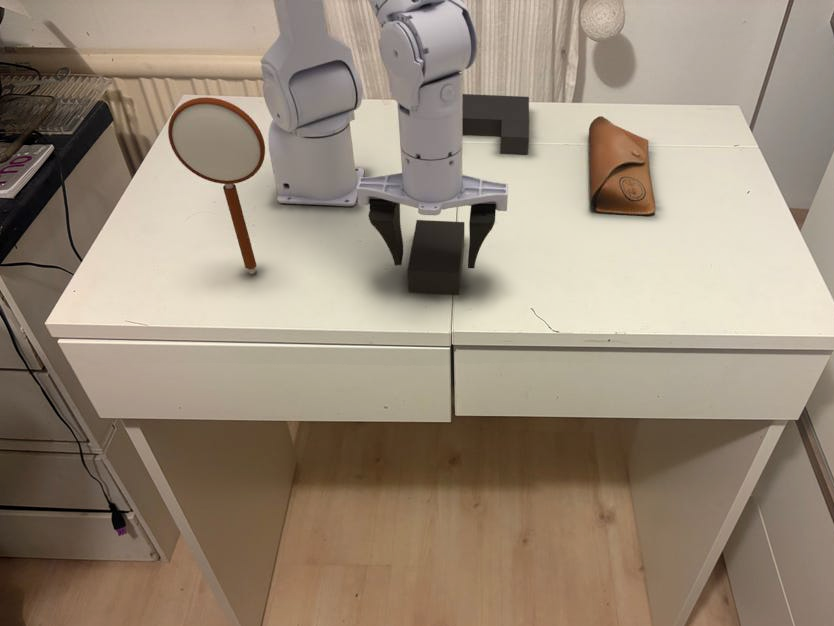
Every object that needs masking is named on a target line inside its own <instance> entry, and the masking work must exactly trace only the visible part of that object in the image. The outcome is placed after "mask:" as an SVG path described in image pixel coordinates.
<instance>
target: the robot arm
mask: <svg viewBox="0 0 834 626" xmlns="http://www.w3.org/2000/svg"><path fill="white" fill-rule="evenodd" d="M367 1H368V3H369V6H370V7H371V9H372V11H373V14H374V16H375V18H376V20H377V22H378V24H379V26H380V28H381V31H380V39H377V40H378V41H377V42H378V48H379V49H378V50H379V53H380V57H381V59H382V63H383V65H384V68H385V70H386V73H387V77H388V82H389V91H390V92H391V98H392V99H393V101H395V102H396V105H397V118H398V132H399V133H398V134H399V145H400V146H399V147H400V163H401V164H400V165H401V172H399V173H393V174H385V175H379V176H366V177H365V169H364V168H363V167H356V164H355V155H354V154H355V153H354V147H353V139H352V131H351V122H352V121H355V120H356V117H355V111H357V110H358V109H359V108H360V107H361V104H362V100H363V95H364V94H363V92H364V91H363V90H364V89H363V83H362V80H361V77H360V73H359V72H358V69H357V67H356V64H355V60H354V58H353V51H352V49H351V47H350V46H349V45H348V44H347V43H346V42H345V41H344V40H342V39H340V38H339V37H337V36H335V35H333V34H331V32H329V29H328V24H327V19H326V18H327V17H326V12H325V7H324V6H325V5H324V2H323V0H272V2H273V7H274V11H275V16H276V20H277V25H278V29H279V33H280V34H279V35H278V37H277V38H276V40H275V41H274V42H273V44H272V45H271V46H270V47H269V48H268V49H267V51H266V52H265V53H263V56H262V57H261V58H260V64H261V65H260V68H261V73H262V74H261V75H262V81H263V82H262V94H263V99H264V102H265V106H266V107H267V110H268V112H269V114H270V116H271V118H272V120H271V121H270V125H269V129H268V138H267V139H268V152H269V158H270V162H271V167H272V172H273V176H274V181H275V186H276V190H277V194H278V195H277V197H276V200H277V202H278V203H279V204H293V205H295V204H296V205H318V206H341V207H353V206H355V205H356V202H357V205H359V206H369V211H368V220H369V222H370V224H371V225H372V227H373V228H374V229H375V230H376V231H377V232H378V234H379V235H380V236H381V238H382V239H383V241H384V242H385V244H386V247H387V248H388V251H389V252H390V254H391V257H392V260H393V263H394V265H395V266H402V264H403V258H404V240H403V234H402V233H403V231H402V226H401V225H402V224H401V205H403V206H407V207H411V208H415V209H417V211H418V214H419V215H422V216H439V215H441V212H442V210H448V209H453V208H459V207H460V208H461V207H465V206H469V207H470V211H469V222H468V223H469V224H468V228H469V246H468V247H469V248H468V256H467V269H473V270H474V269H475V268H476V261H477V257H478V254H479V251H480V249H481V246H482V245H483V244H484V241H485V240H486V238H487V237H488V235H489V233H490V232H491V231H493V227H494V225H495V223H496V214H497V213H496V211H498V212H507V211H508V197H509V183H508V182H498V181H497V182H496V181H492V180H487V179H482V178H479V177H474V176H471V175H466V174H463V135H462V104H463V94H464V93H463V91H464V89H463V87H464V86H463V83H464V81H463V73H462V72H464V71H465V70H468V69H470V68H471V67H472V66H473V65H474V63H475V61H476V59H477V54H478V43H479V42H478V34H477V30H476V25H475V24H474V23H475V22H474V20H473V18H472V15H471V13H470V10H469V8H468V6H467V5H466V4H465V3H464V2H463V1H462V0H367Z"/></svg>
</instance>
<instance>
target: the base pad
mask: <svg viewBox="0 0 834 626" xmlns="http://www.w3.org/2000/svg"><path fill="white" fill-rule="evenodd" d="M463 135H465V136H487V137H500V149H499V153H500V154H504V155H505V154H506V155H507V154H508V155H510V154H511V155H528V154H529V143H530V142H529V141H530V97H529V96H521V95H520V96H519V95H496V94H495V95H493V94H474V93H473V94H472V93H470V94H469V93H463V104H462V136H463Z"/></svg>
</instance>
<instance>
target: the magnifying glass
mask: <svg viewBox="0 0 834 626" xmlns="http://www.w3.org/2000/svg"><path fill="white" fill-rule="evenodd" d="M167 132H168V133H167V135H168V141H169V144H170V147H171V149H172V151H173V153H174V155H175V156H176V158H177V159H178V160H179V162H180V163H181V164H182V166H183V167H185V168H186V169H188V170H189V171H190V172H191V173H193V174H194V175H196V176H197V177H199V178H202V179H203V180H206V181H208V182H210V183H211V182H212V183H215V184H221V185H223V187H222V189H223V193H224V196H225V200H226V203H227V207H228V210H229V214H230V218H231V221H232V224H233V225H232V226H233V229H234V231H235V236H236V239H237V242H238V247H239V249H240V254H241V257H242V261H243V264H244V268H245V269H246V270H248V273H249V274H251V275H252V274H253V275H254V274H255V273H256V272H257V270H256V268H257V262H256V258H255V254H254V250H253V246H252V243H251V239H250V234H249V231H248V227H247V223H246V219H245V215H244V212H243V208H242V205H241V202H240V197H239V193H238V190H237V186H236V184H240V183H242V182H245V181H247V180H249V179H251V178H252V177H254V176H255V175H256V174H257V173H258V172H259V170H260V169H261V167H262V166H263V164H264V161H265V157H266V145H265V144H266V143H265V139H264V136H263V134H262V131H261V130H260V128H259V126H258V125H257V123H256V122H255V121H254V119H253V118H252V117H251V116H250V115H249V114H248V113H247V112H246V111H244V110H243V109H242V108H240V107H239V106H237V105H235V104H233V103H231V102H229V101H227V100H223V99H221V98H215V97H197V98H192V99H189V100H187V101H185V102H183V103H182V104H181V105H179V106H178V107H177V108H176V109H175V110H174V112H173V113H172V115H171V116H170V119H169V122H168V126H167Z"/></svg>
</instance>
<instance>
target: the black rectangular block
mask: <svg viewBox="0 0 834 626" xmlns="http://www.w3.org/2000/svg"><path fill="white" fill-rule="evenodd" d="M464 250H465V221H450V220H449V221H448V220H427V219H416V222H415V227H414V232H413V238H412V244H411V249H410V255H409V259H408V264H407V265H408V266H407V286H408V293H411V294H433V295H454V296H455V295H456V296H459V295H460V291H461V280H462V271H463V262H464V261H463V260H464V252H465V251H464Z"/></svg>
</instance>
